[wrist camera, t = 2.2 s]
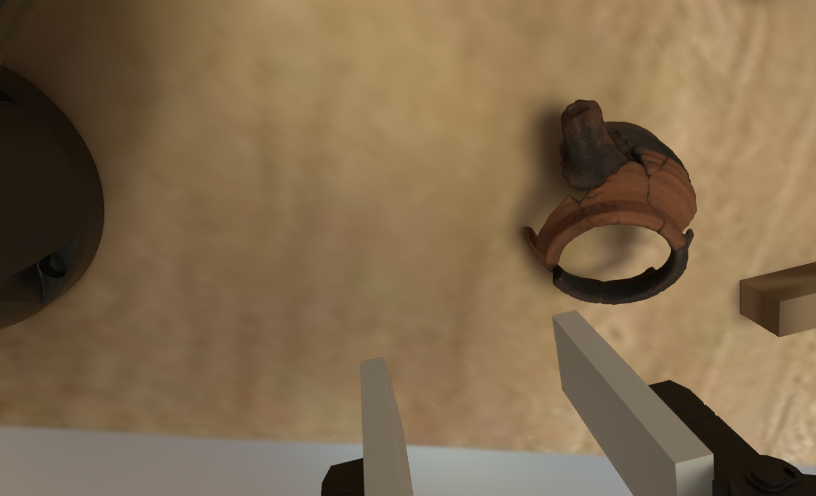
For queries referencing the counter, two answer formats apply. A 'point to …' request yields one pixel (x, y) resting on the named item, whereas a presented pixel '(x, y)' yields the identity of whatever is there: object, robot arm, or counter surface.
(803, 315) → the walnut pocket
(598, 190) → the brown broken pot
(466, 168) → the counter surface
